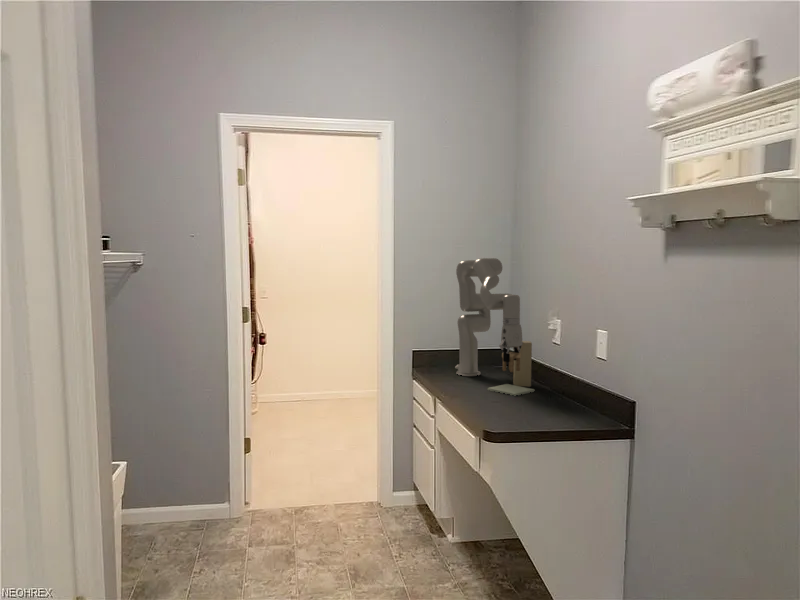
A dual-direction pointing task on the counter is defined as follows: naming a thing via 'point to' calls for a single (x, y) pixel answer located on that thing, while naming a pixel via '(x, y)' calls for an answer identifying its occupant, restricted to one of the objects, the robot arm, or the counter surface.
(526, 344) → the beige block
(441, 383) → the counter surface
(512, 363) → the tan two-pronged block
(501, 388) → the sage mat
